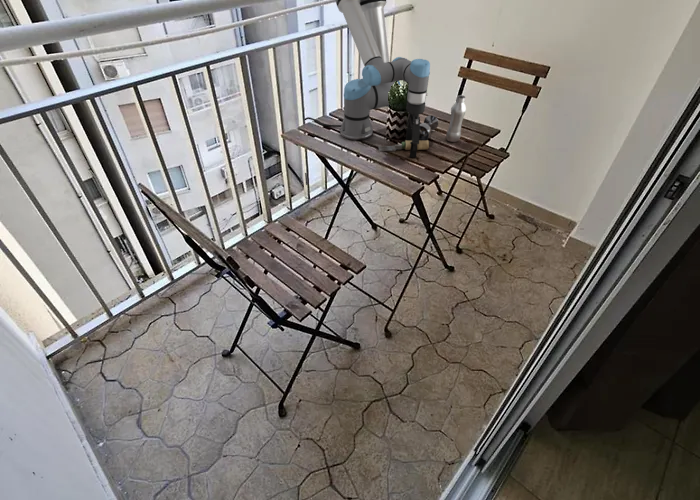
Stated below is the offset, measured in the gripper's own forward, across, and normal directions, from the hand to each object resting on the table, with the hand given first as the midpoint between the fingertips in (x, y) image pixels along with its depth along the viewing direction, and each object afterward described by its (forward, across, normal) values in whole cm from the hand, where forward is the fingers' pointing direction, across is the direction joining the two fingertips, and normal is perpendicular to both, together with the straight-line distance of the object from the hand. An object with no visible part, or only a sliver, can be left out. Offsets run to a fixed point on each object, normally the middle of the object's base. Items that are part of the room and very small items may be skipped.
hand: (410, 149), depth 172 cm
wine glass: (-4, +20, -12) cm, 24 cm away
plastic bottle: (0, +9, -20) cm, 22 cm away
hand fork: (0, 0, +3) cm, 3 cm away
